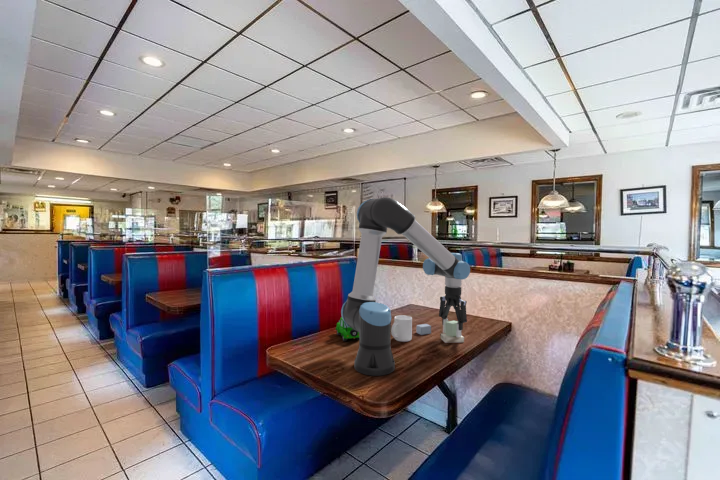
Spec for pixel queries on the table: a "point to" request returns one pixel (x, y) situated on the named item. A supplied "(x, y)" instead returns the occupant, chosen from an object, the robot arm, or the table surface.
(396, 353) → the table surface
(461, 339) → the cream brick
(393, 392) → the table surface
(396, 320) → the mug
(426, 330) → the slate brick
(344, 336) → the toy car
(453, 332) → the green brick
